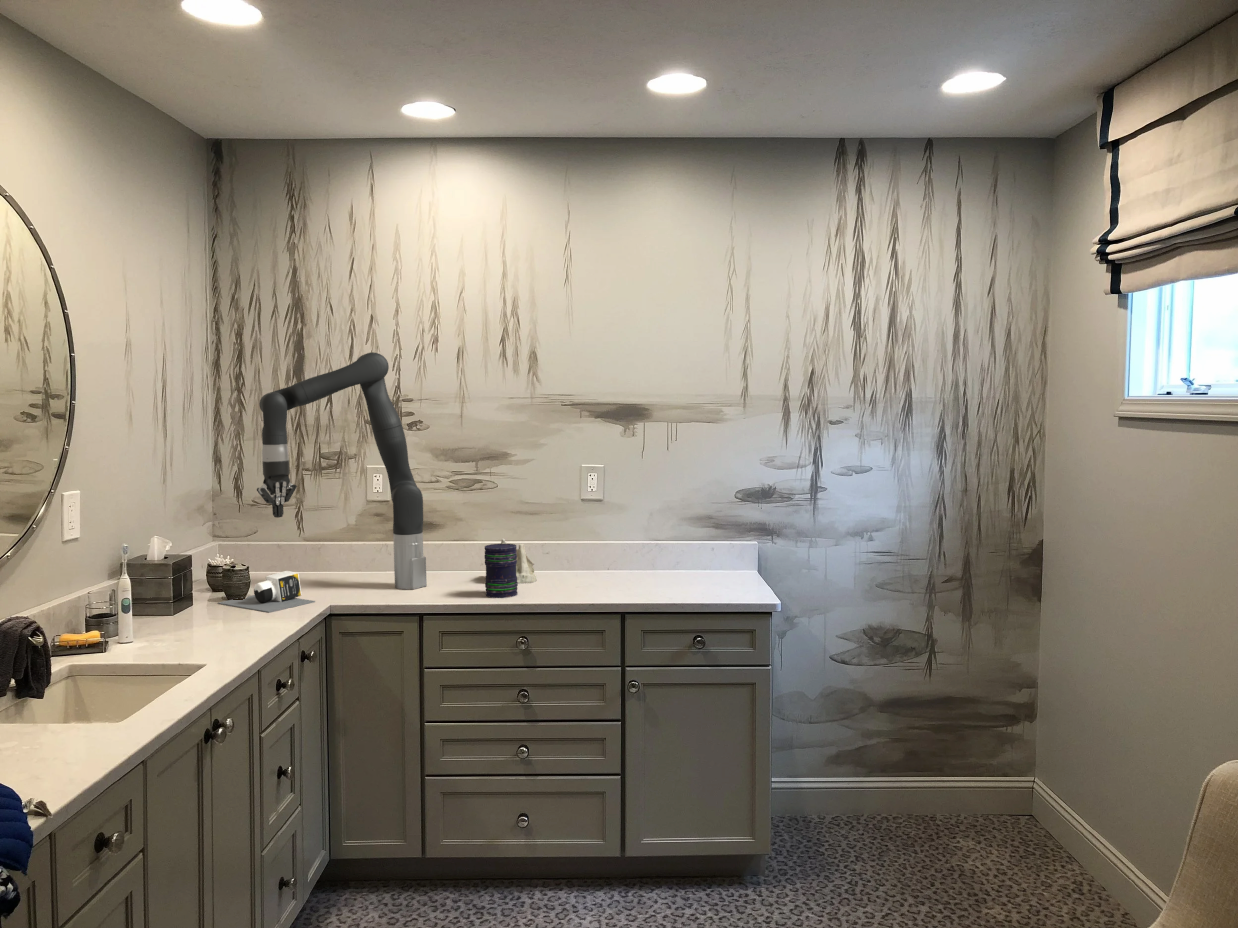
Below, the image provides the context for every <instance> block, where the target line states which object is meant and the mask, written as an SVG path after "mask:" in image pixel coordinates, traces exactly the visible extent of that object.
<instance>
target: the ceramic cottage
mask: <svg viewBox="0 0 1238 928" xmlns="http://www.w3.org/2000/svg"><path fill="white" fill-rule="evenodd" d="M500 541H501V542H500V544H508V541H506V539H505V538H501V540H500ZM516 550H517V564H516V576H517V582H518V585H521V584H531V583H536V582H537V581H538V579H537V575H536V574H535V567H533V566H534V565H535V563H534V562H533V561H532V560H531V559H530V558H529V557H528V555H527V553H526V547H525V544H524V543H519V544H518V548H516Z"/></svg>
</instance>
